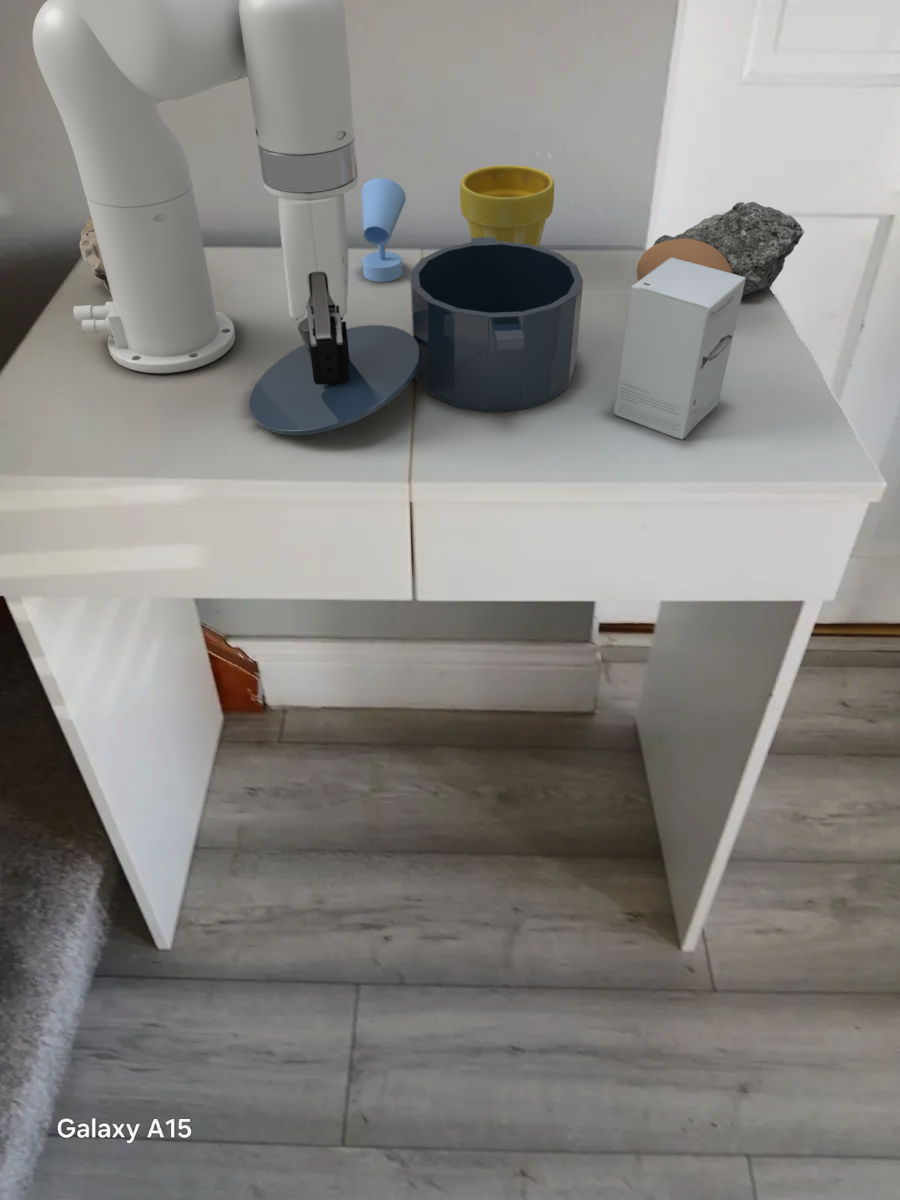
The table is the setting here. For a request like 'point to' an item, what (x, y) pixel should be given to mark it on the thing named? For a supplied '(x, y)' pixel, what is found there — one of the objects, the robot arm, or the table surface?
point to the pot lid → (307, 408)
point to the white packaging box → (677, 345)
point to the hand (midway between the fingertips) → (332, 371)
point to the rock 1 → (93, 252)
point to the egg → (681, 255)
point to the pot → (495, 324)
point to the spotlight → (381, 227)
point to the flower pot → (507, 202)
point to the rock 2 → (749, 241)
